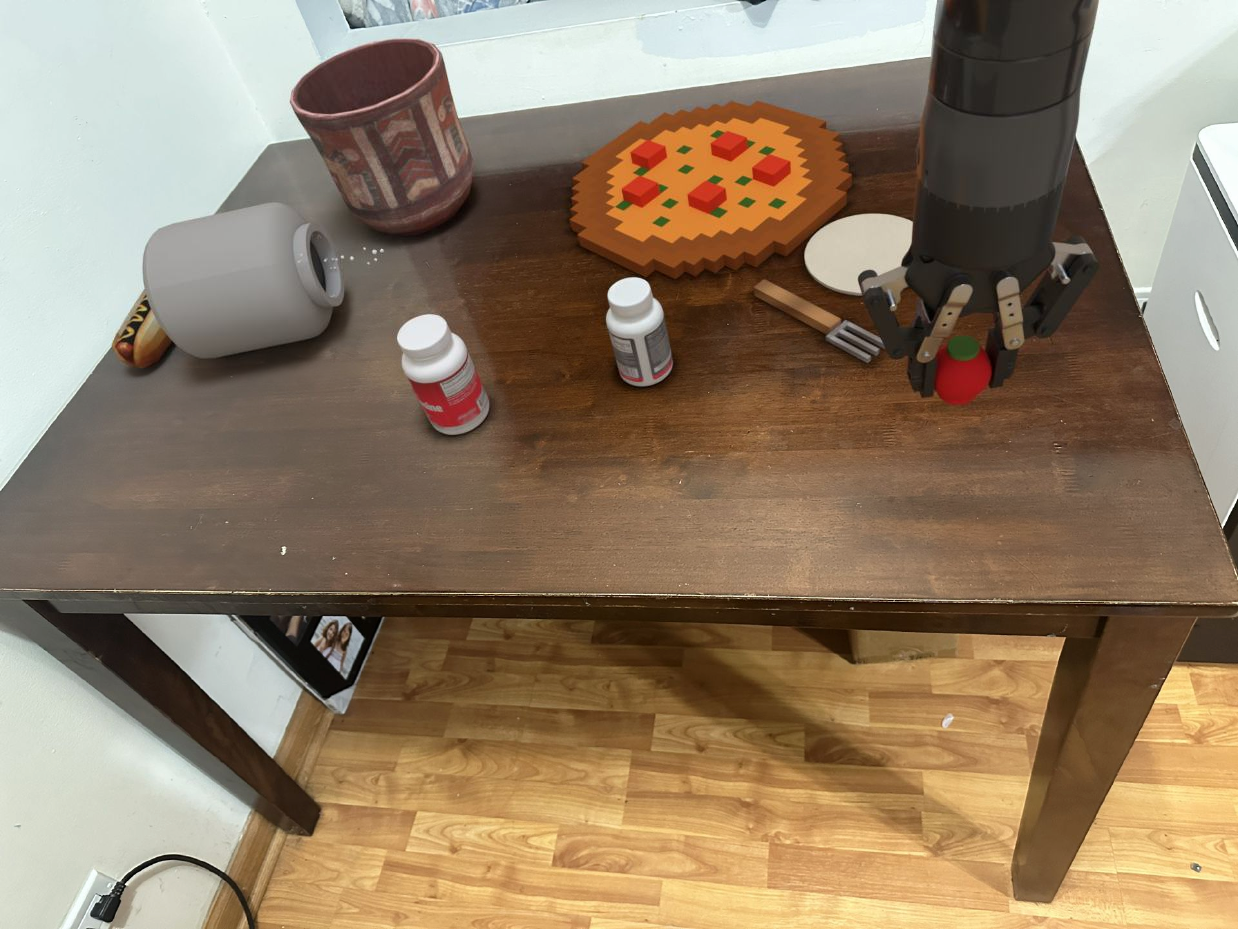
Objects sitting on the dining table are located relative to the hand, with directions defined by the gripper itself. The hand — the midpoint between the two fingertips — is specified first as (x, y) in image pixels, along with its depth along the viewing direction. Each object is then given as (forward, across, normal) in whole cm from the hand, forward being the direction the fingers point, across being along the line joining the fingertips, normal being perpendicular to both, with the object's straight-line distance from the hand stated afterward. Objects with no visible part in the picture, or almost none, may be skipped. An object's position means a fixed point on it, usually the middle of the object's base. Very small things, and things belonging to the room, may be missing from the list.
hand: (958, 383), depth 59 cm
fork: (+13, -6, +23) cm, 27 cm away
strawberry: (+1, 0, 0) cm, 1 cm away
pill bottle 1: (+13, -42, +17) cm, 47 cm away
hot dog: (+13, -81, +37) cm, 90 cm away
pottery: (+13, -51, +55) cm, 76 cm away
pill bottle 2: (+14, -23, +20) cm, 33 cm away
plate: (+14, +1, +32) cm, 35 cm away
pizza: (+14, -15, +49) cm, 53 cm away
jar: (+13, -62, +37) cm, 73 cm away
